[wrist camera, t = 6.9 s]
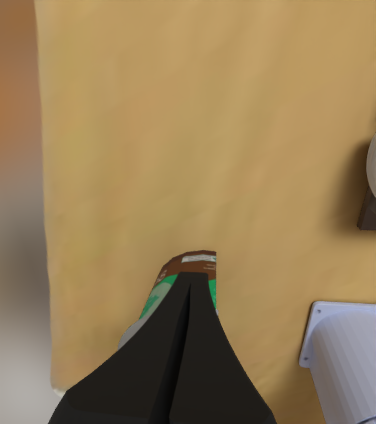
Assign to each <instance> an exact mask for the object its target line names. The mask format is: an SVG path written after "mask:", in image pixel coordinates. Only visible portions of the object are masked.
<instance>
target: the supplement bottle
mask: <svg viewBox="0 0 376 424" xmlns="http://www.w3.org/2000/svg"><path fill="white" fill-rule="evenodd" d="M366 171H367V178H368V182H369V185H370V188H371V190H372V193H373V194H374V196H375V197H376V133H375V135H374V137H373V139H372V141H371V144H370V147H369V150H368V155H367V164H366Z"/></svg>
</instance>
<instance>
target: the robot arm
mask: <svg viewBox="0 0 376 424" xmlns="http://www.w3.org/2000/svg"><path fill="white" fill-rule="evenodd" d="M299 365H300V366H301V367H305V368H310V371H311V375H312V378H313V381H314V385H315V388H316V391H317V395H318V398H319V401H320V405H321V408H322V411H323V415H324V418H325V421H326V424H376V304H362V303H344V302H326V301H316V302H314V303H313V305H312V309H311V313H310V317H309V321H308V325H307V329H306V334H305V338H304V342H303V346H302V350H301V354H300V358H299ZM48 424H277V423H276V421H275V418H274V416H273V413H272V411H271V410H270V408H269V407H268V405H267V404H266V403H265V401H264V400H263V398H262V397H261V396H260V394H259V393H258V391H257V390H256V388H255V387H254V385H253V384H252V382H251V380H250V379H249V377H248V376H247V374H246V372H245V371H244V369H243V367H242V365H241V364H240V362H239V360H238V359H237V357H236V355H235V353H234V351H233V349H232V347H231V345H230V343H229V341H228V339H227V337H226V335H225V333H224V330H223V328H222V326H221V323H220V321H219V318H218V315H217V313H216V310H215V307H214V303H213V300H212V297H211V293H210V288H209V281H208V274H207V273H204V272H182V271H181V272H179V273H178V275H177V277H176V279H175V281H174V283H173V284H172V286H171V288H170V289H169V291H168V292H167V294H166V295H165V297H164V298H163V300H162V301H161V303H160V304H159V305H158V307H157V308H156V309H155V311H154V312H153V313H152V314H151V316H150V317H149V318H148V319H147V321H146V322H145V323H144V324H143V325H142V326H141V328H140V329H139V330H138V331H137V332H136V333H135V334H134V335H133V336H132V337H131V338H130V339H129V340H128V341H127V342H126V343H125V344H124V345H123V346H122V347H121V348H120V349H119V350H118V351H117V352H116V353H115V354H113V355H112V356H111V357H110V358H109V359H108V360H106V361H105V362H104V363H103V364H102V365H100V366H99V367H98V368H97V369H96V370H94V371H93V372H92V373H90V374H89V375H88V376H86V377H85V378H84V379H82V380H81V381H80V382H78V383H77V384H76V385H74V386H73V387H71V388H70V389H69V390H67V391H66V393H65V394H64V396H63V398H62V399H61V401H60V402H59V404H58V406H57V408H56V409H55V411H54V413H53V415H52V417H51V419H50V421H49V423H48Z"/></svg>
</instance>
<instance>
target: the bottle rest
mask: <svg viewBox="0 0 376 424" xmlns="http://www.w3.org/2000/svg"><path fill="white" fill-rule="evenodd" d="M357 227H358V228H359V229H360V230H376V197H375V196H374V194H373V193H372V190H371V188H370V185H369V186H368V190H367V193H366V197H365V200H364V203H363V207H362V210H361V214H360V217H359V220H358V224H357Z"/></svg>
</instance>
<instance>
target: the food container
mask: <svg viewBox="0 0 376 424" xmlns="http://www.w3.org/2000/svg"><path fill="white" fill-rule="evenodd" d="M181 271H182V272H204V273H207V274H208V281H209V288H210V293H211V297H212V300H213V303H214V307H215V310H216V252H214V251H206V250H201V251H192V252H186V253H183V254H181V255H178V256H176V257H173V258H172V259H171V260H170V261H169V262H167V263H166V264H165V265H164V266H163V267H162V269H161V271H160V273H159V275H158V277H157V280H156V282H155V284H154V286H153V289H152V291H151V293H150V296H149V298H148V300H147V302H146V305H145V307H144V309H143V312H142V314H141V316H140V318H139V320H138V321H137V322H135V323H134V324H133V325H132V326H130V327H129V328H128V329H127V330H126V332H125V333H124V334H123V335H122V337H121V340H120V342H119V344H118V350H119V349H120V348H121V347H122V346H123V345H124V344H125V343H126V342H127V341H128V340H129V339H130V338H131V337H132V336H133V335H134V334H135V333H136V332H137V331H138V330H139V329H140V328H141V326H142V325H143V324H144V323H145V322H146V321H147V319H148V318H149V317H150V316H151V314H152V313H153V312H154V311H155V309H156V308H157V307H158V305H159V304H160V303H161V301H162V300H163V298H164V297H165V295H166V294H167V292H168V291H169V289H170V288H171V286H172V284H173V283H174V281H175V279H176V277H177V275H178V273H179V272H181ZM216 313H217V315H218V310H216ZM118 350H117V351H118Z"/></svg>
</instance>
